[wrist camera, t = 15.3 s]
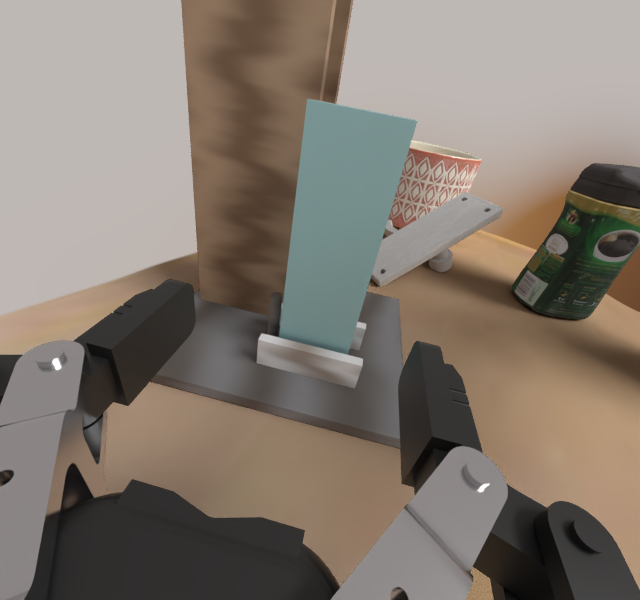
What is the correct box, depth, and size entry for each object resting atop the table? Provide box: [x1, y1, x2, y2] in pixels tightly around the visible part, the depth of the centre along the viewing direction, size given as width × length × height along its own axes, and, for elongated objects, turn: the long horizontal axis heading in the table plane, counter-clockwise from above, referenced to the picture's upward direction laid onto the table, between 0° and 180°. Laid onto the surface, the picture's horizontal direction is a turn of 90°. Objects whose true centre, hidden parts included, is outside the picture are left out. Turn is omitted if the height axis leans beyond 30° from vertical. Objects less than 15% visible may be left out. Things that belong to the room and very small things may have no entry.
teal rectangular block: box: [279, 99, 417, 355], centre depth 21 cm, size 6×4×18 cm, turn 79°
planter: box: [388, 140, 482, 230], centre depth 62 cm, size 19×19×15 cm
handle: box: [371, 192, 503, 287], centre depth 49 cm, size 18×8×20 cm
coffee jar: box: [512, 163, 640, 319], centre depth 39 cm, size 10×8×19 cm
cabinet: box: [151, 0, 403, 448], centre depth 22 cm, size 21×18×28 cm
